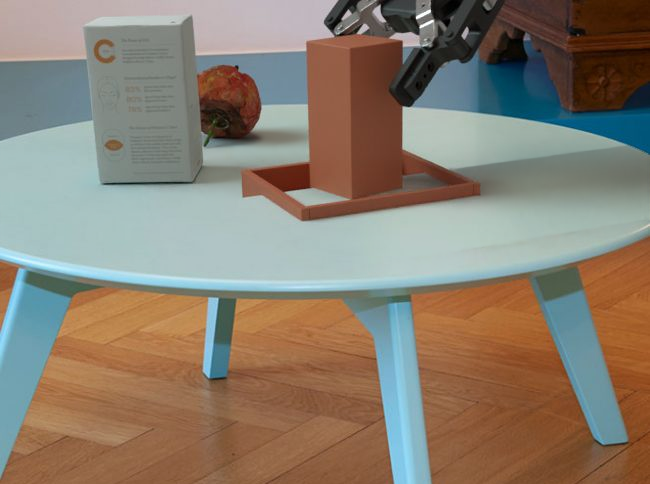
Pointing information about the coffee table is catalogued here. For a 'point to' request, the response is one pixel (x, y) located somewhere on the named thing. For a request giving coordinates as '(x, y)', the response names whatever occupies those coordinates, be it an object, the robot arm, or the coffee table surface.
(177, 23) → the small box
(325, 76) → the terracotta block
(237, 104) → the red round fruit
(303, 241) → the coffee table surface
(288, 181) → the terracotta frame
